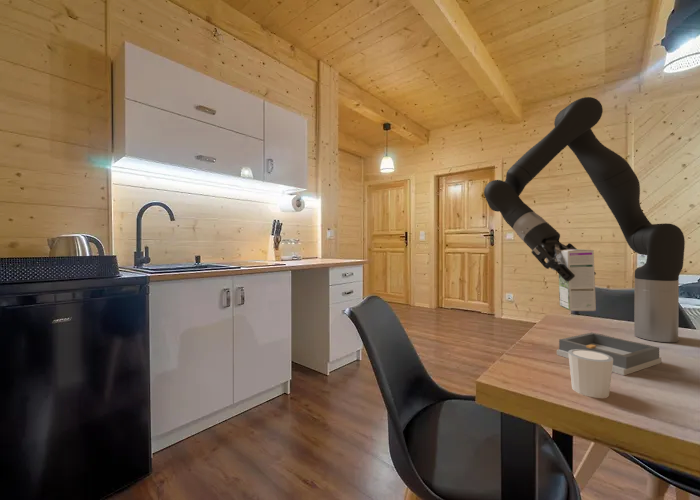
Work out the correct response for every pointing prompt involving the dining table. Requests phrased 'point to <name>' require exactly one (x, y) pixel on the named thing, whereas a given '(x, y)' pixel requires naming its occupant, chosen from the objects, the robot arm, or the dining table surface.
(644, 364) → the pocket plate
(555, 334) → the dining table surface
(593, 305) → the syrup box
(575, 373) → the white cup
